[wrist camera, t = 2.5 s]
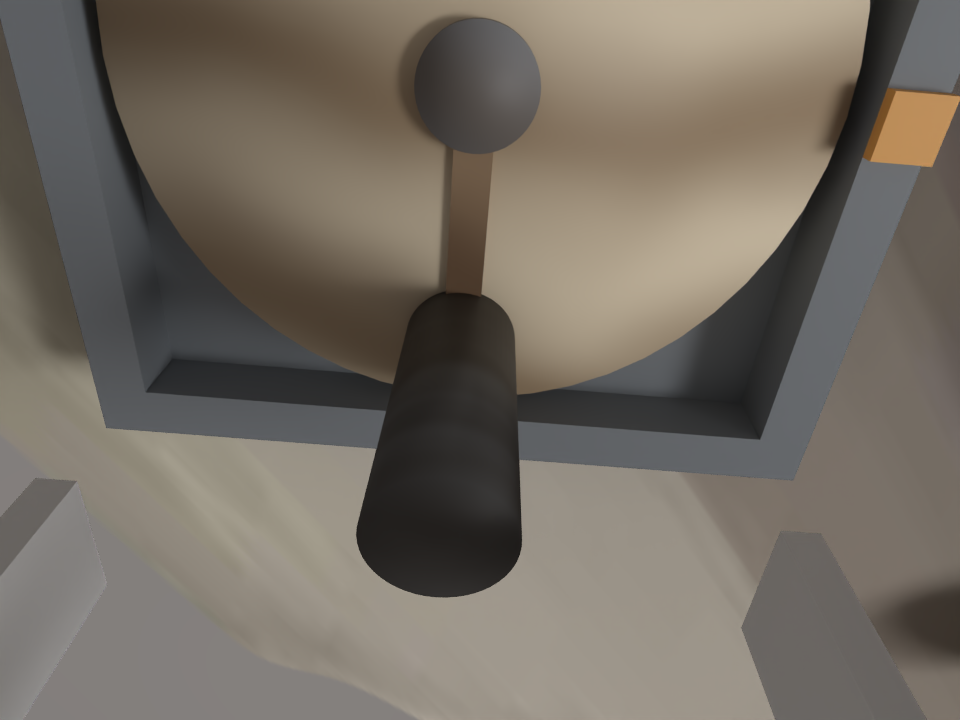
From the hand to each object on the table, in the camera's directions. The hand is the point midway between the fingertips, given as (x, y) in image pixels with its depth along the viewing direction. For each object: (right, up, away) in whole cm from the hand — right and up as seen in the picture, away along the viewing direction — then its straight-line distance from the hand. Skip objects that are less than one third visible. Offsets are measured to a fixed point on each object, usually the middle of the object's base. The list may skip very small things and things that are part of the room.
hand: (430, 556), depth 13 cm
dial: (+1, +11, +5) cm, 12 cm away
